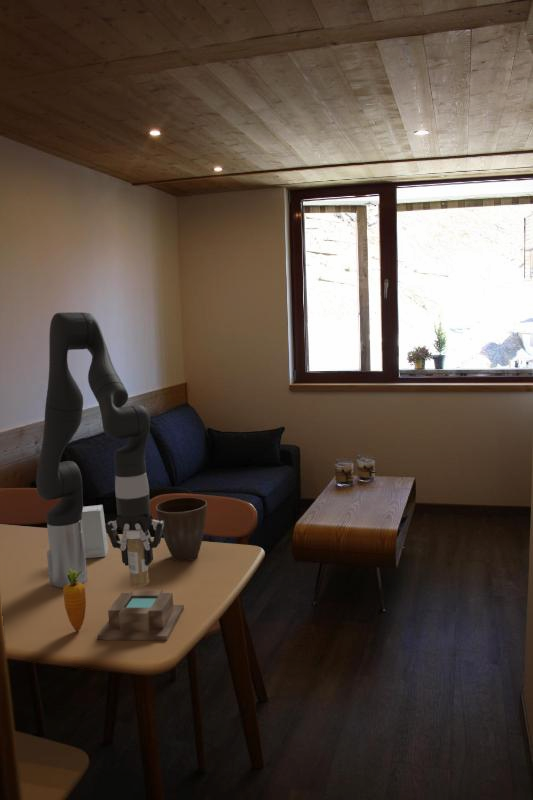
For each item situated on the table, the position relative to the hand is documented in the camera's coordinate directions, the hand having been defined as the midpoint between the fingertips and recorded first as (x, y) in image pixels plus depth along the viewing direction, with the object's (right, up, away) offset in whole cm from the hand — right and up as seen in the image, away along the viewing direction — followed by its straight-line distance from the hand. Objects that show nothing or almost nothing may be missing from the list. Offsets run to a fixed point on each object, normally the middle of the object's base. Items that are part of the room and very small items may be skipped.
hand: (138, 564), depth 162 cm
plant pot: (+6, -9, +44) cm, 45 cm away
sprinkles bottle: (0, -5, +1) cm, 5 cm away
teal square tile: (+1, -10, +1) cm, 11 cm away
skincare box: (-23, -9, +50) cm, 56 cm away
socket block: (+1, -14, +2) cm, 15 cm away
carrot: (-14, -16, 0) cm, 21 cm away
